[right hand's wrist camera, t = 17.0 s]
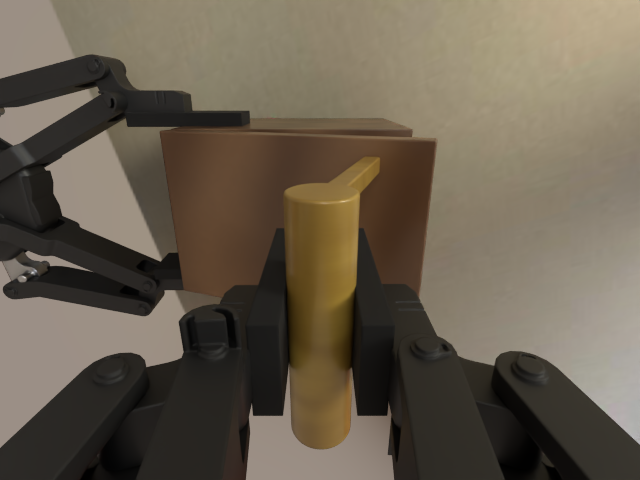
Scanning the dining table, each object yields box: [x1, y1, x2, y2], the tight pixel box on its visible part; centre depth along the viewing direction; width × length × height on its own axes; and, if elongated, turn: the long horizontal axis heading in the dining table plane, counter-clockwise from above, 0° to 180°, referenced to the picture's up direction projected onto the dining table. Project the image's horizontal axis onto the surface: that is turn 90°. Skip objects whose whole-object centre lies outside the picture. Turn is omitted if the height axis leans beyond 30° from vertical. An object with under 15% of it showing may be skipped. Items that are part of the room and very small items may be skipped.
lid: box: [160, 129, 437, 449], centre depth 15 cm, size 13×9×9 cm
